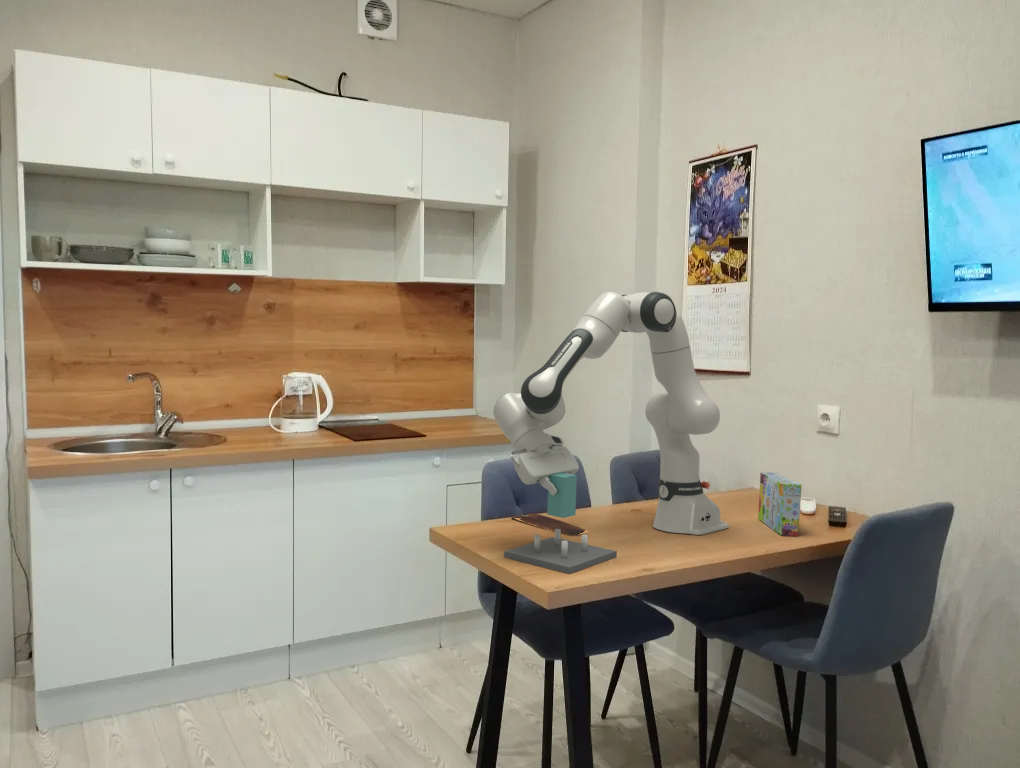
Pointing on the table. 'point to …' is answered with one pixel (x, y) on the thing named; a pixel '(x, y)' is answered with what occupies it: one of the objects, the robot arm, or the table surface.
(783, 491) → the snack box
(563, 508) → the teal post
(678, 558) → the table surface
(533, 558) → the peg board
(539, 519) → the wooden tablet
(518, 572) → the table surface
